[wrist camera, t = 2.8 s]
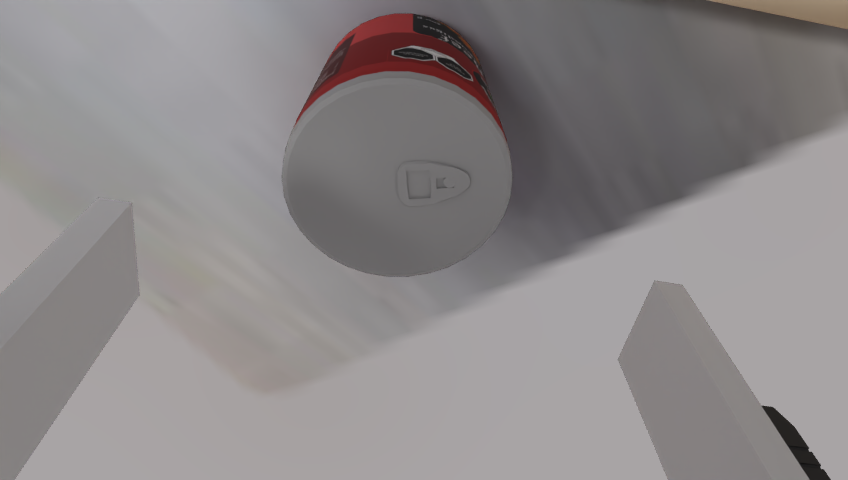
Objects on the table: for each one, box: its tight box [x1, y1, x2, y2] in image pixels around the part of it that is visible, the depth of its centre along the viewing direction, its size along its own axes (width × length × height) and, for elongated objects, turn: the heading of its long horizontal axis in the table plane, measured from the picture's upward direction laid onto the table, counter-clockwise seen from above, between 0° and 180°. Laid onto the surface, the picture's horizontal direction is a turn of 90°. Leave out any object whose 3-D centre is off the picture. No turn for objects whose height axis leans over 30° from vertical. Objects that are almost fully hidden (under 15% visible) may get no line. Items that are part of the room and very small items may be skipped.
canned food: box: [282, 14, 512, 277], centre depth 25 cm, size 8×8×11 cm
